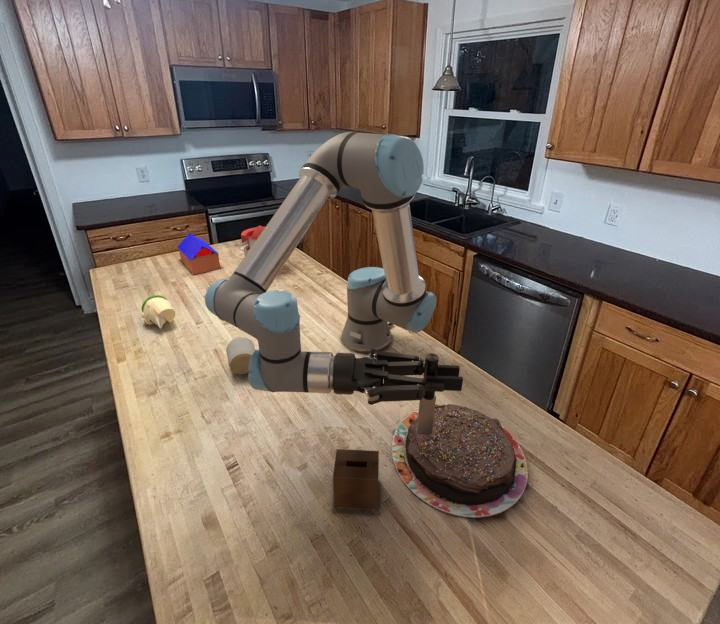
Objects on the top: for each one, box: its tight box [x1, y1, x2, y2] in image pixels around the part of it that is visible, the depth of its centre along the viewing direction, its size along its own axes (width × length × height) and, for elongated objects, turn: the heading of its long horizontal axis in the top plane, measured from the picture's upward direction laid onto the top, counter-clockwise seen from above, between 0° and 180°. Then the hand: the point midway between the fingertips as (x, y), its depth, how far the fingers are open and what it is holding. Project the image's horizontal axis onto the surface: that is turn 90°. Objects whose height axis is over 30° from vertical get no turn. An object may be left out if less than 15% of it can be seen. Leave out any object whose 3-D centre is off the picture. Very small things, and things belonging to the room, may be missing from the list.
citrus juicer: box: [238, 225, 266, 256], centre depth 164 cm, size 16×17×20 cm
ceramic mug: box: [225, 336, 258, 376], centre depth 108 cm, size 11×8×8 cm
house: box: [177, 233, 221, 276], centre depth 171 cm, size 12×20×12 cm, turn 37°
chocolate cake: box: [391, 403, 530, 519], centre depth 81 cm, size 28×28×7 cm
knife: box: [417, 352, 440, 435], centre depth 74 cm, size 3×2×19 cm
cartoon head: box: [140, 294, 176, 330], centre depth 129 cm, size 9×10×20 cm
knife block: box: [332, 448, 380, 511], centre depth 72 cm, size 8×6×9 cm
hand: (460, 378), depth 72 cm, fingers closed on knife, 2 cm apart
